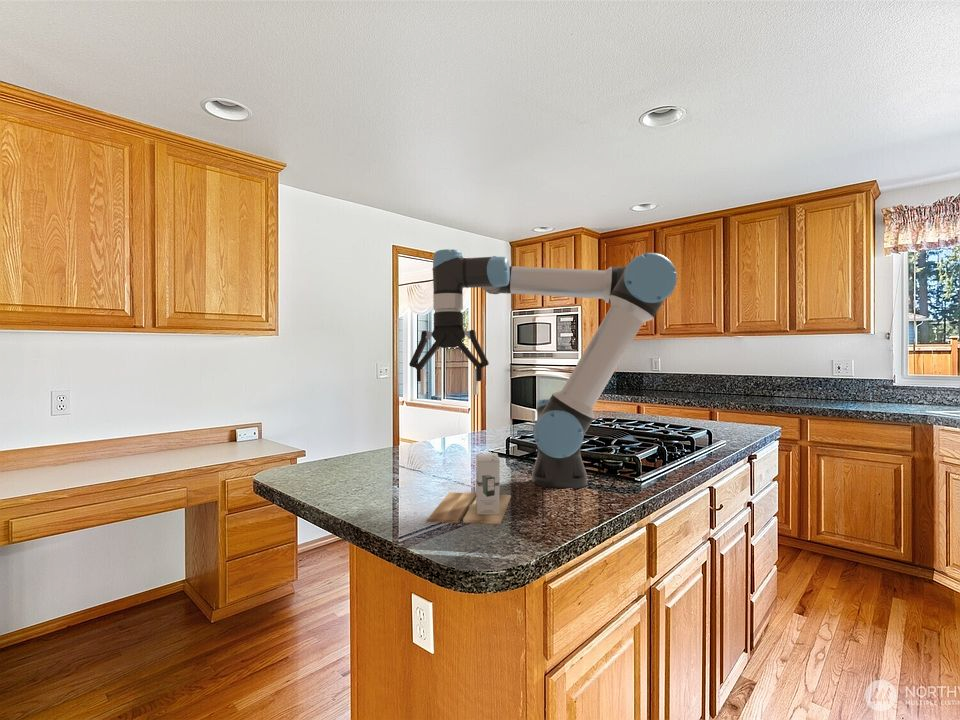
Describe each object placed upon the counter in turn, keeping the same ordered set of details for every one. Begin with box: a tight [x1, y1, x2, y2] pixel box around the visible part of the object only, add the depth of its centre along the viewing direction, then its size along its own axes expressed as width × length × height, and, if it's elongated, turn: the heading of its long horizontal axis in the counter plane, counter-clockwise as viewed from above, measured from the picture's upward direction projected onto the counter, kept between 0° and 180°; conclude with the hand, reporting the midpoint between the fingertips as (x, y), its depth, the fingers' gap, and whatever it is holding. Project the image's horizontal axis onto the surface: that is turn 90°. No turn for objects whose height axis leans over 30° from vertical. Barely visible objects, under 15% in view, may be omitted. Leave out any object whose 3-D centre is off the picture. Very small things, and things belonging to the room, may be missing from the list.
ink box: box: [475, 452, 501, 515], centre depth 112 cm, size 9×5×12 cm, turn 3°
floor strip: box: [426, 492, 476, 524], centre depth 116 cm, size 7×20×1 cm, turn 170°
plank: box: [462, 494, 512, 525], centre depth 114 cm, size 8×19×1 cm, turn 170°
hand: (449, 394), depth 129 cm, fingers open, 13 cm apart
